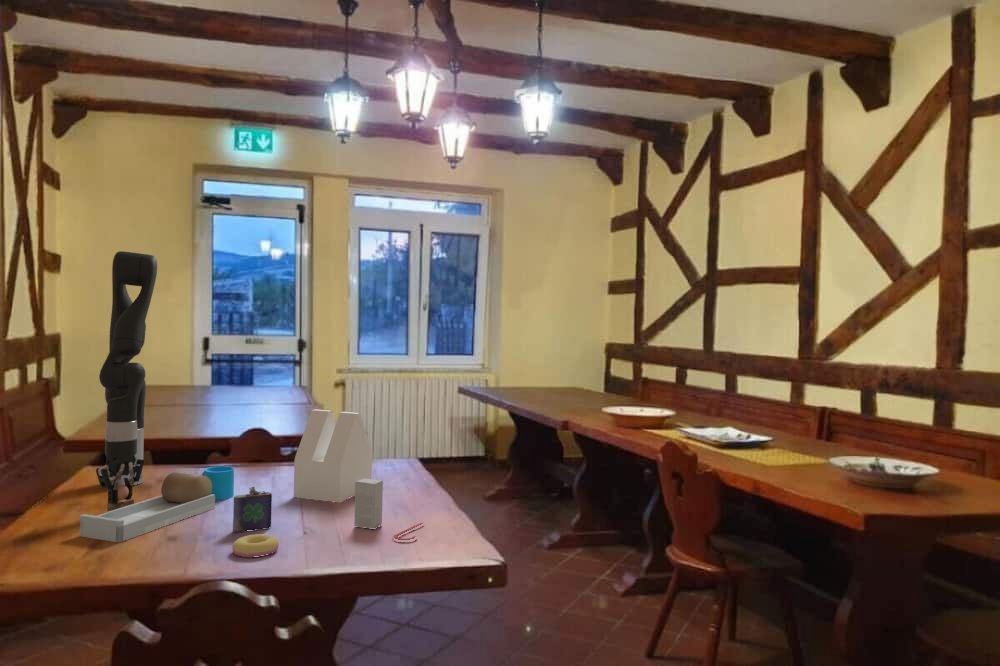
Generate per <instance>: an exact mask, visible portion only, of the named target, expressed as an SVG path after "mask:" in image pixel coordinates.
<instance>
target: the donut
mask: <svg viewBox="0 0 1000 666" xmlns="http://www.w3.org/2000/svg"><path fill="white" fill-rule="evenodd" d="M279 546H280V542H279V540H278V538H277V537H276V536H274V535H271V534H266V533H265V534H264V533H263V534H262V533H261V534H259V533H258V534H257V533H256V534H250V535H245V536H244V535H243V536H241V537H239V538H237V539H236V540H235V541H234V542H233V544H232V547H231V549H232V552H233V554H234V555H235V556H237V555H238V556H237V557H239V556H243V557H242V558H245V557H254V556H261V555H266V554H270V553H272V552H274V551H275V552H276V551H277V550H278V548H279ZM275 552H274V553H275ZM272 554H273V553H272ZM270 555H271V554H270Z"/></svg>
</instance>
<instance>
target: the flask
mask: <svg viewBox="0 0 1000 666" xmlns="http://www.w3.org/2000/svg"><path fill="white" fill-rule="evenodd" d="M272 497H273V494H272V493H271V492H269V491H257V490H256V487H255V486H252V487H249V492H248V493H246V494H238V495H234V496H233V514H232V515H233V517H232V519H233V520H232V532H233V531H234V532H236V533H238V532H242V533H244V532H243V531H247V530H255V529H263V528H269V527H270V528H272V504H273V503H272V502H273V499H272ZM255 531H256V530H255ZM234 532H233V533H234Z"/></svg>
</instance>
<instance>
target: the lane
mask: <svg viewBox="0 0 1000 666" xmlns="http://www.w3.org/2000/svg"><path fill="white" fill-rule="evenodd" d="M201 475H202V474H200V475H199V474H192V473H185V472H178V471H177V472H176V471H174V472H171V473H169V474H168V475H166V477H165V478H164V480H163V482H162V484H161V491H160V492H161V495H158V496H154V497H151V498H148V499H145V500H142V501H138V502H134V504H132V505H128V506H125V507H122V508H119V509H115V510H112V511H109V512H107V511H106V512H105V513H104V512H103V513H102V514H101V513H100V514H98V515H92V514H88V513H87V514H86V513H83V514H80V515H79V537H82V538H88V539H94V540H100V541H106V542H111V543H118V544H119V543H123V542H125V540H126V541H128V540H131V539H133V538H136V537H139V536H141V535H145V534H147V533H150V532H153V531H156V530H159V529H160V528H161V527H162V528H164V527H166V525H167V526H170V525H172V523H173V524H175V523H178V522H181V521H184V520H186V519H188V517H189V518H191V516H192V517H195V516H197V515H200V514H202V513H205V512H209V511H211V510H214V509H215V508H216V501H215V494H211V492H212V483H211V480H210V479H209V478H208V477H207V476H201ZM194 515H195V516H194ZM183 519H184V520H183ZM180 520H181V521H180ZM169 524H170V525H169ZM163 526H164V527H163ZM158 528H159V529H158ZM162 528H161V529H162ZM155 529H156V530H155Z"/></svg>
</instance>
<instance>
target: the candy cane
mask: <svg viewBox="0 0 1000 666" xmlns="http://www.w3.org/2000/svg"><path fill="white" fill-rule="evenodd" d="M421 524H424V522H420V523H418V524H416V525H413V526H411V527H408V528H406V529H404V530H402V531H401V532H398V533H396V534H394V535H393V536H392V538H393V537H394V538H395V539H398V540H410V539H414V538H415V537H417V536H415V535H413V536H411V537H409V538H403V537H401V538H398V536H399V535H401V534H403V533H405V532H407V531H409V530H411V529H413V528H415V527H417V526H419V525H421Z"/></svg>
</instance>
